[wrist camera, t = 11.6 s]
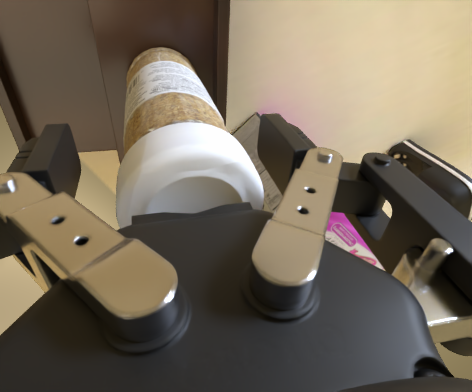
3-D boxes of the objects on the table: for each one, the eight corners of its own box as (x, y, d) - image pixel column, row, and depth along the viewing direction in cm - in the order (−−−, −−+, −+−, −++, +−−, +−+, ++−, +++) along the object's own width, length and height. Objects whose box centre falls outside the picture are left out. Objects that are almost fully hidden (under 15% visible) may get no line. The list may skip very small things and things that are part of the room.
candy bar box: (309, 165, 38) (395, 263, 26) (279, 191, 40) (347, 296, 27) (256, 107, 32) (337, 200, 19) (222, 139, 33) (277, 247, 20)
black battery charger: (381, 148, 40) (451, 200, 31) (408, 135, 40) (485, 184, 31) (383, 185, 44) (444, 240, 36) (407, 174, 44) (474, 226, 35)
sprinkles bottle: (173, 129, 21) (210, 282, 11) (111, 91, 19) (84, 244, 9) (212, 75, 20) (296, 194, 10) (150, 26, 17) (173, 116, 7)
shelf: (-32, -65, 20) (-143, -85, 12) (199, -47, 23) (232, -53, 15) (40, 135, 28) (3, 201, 20) (201, 125, 31) (223, 179, 24)
